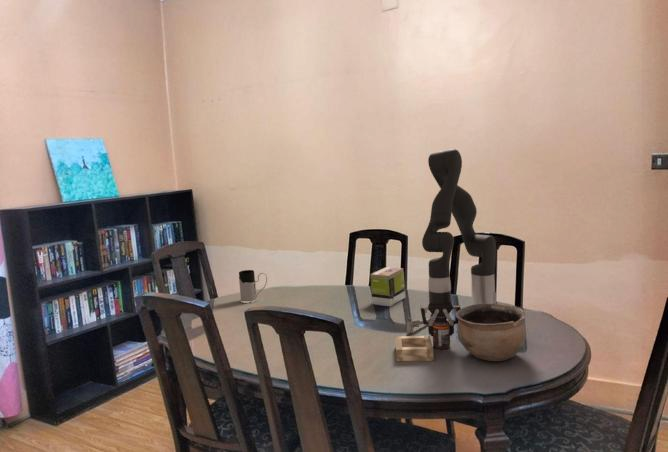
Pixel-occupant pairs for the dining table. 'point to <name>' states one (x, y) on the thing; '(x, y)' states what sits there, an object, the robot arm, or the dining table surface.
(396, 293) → the tea box
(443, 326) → the supplement bottle
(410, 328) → the caliper
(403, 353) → the square sleeve
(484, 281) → the robot arm
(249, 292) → the glass holder
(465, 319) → the ceramic bowl
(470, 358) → the dining table surface
